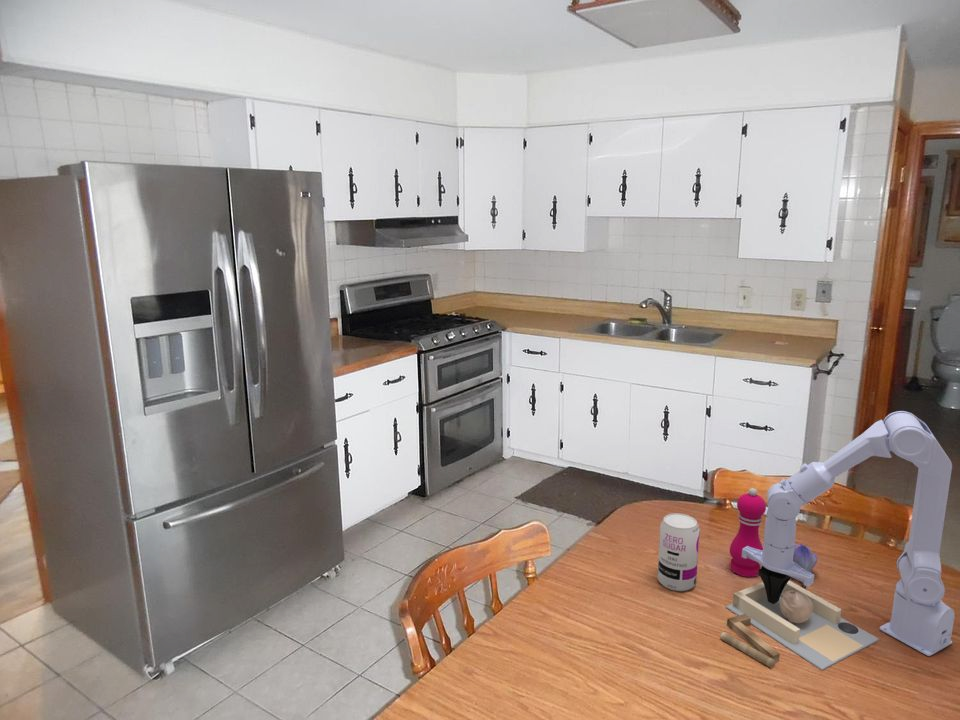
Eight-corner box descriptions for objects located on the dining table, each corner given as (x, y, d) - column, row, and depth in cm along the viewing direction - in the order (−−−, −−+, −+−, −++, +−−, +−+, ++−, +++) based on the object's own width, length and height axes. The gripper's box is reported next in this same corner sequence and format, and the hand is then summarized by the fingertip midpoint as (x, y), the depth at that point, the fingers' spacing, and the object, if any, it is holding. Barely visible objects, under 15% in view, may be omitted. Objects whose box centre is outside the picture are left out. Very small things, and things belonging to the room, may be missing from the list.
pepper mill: (764, 580, 150) (773, 496, 146) (730, 576, 152) (738, 493, 147) (758, 563, 157) (767, 483, 152) (725, 560, 158) (733, 480, 154)
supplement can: (691, 573, 153) (695, 512, 150) (699, 593, 146) (703, 530, 142) (655, 571, 154) (658, 511, 151) (660, 592, 146) (664, 529, 143)
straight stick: (776, 661, 123) (773, 658, 122) (772, 669, 123) (769, 666, 122) (724, 632, 132) (721, 629, 131) (720, 639, 131) (717, 636, 131)
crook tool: (790, 657, 126) (791, 649, 125) (772, 663, 124) (773, 655, 124) (744, 620, 136) (745, 613, 136) (726, 625, 135) (727, 618, 135)
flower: (832, 567, 143) (807, 530, 151) (794, 581, 144) (771, 544, 152) (833, 586, 149) (809, 549, 156) (797, 599, 150) (775, 562, 157)
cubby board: (879, 640, 130) (881, 626, 129) (821, 670, 122) (823, 655, 121) (780, 584, 148) (781, 572, 148) (725, 607, 141) (726, 594, 140)
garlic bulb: (770, 613, 138) (773, 578, 136) (795, 607, 140) (799, 572, 138) (793, 632, 132) (797, 595, 130) (820, 625, 134) (824, 589, 132)
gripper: (824, 549, 134) (817, 610, 137) (756, 522, 145) (751, 579, 148) (806, 561, 129) (799, 623, 133) (738, 532, 141) (733, 590, 144)
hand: (773, 601), depth 140 cm, fingers closed
